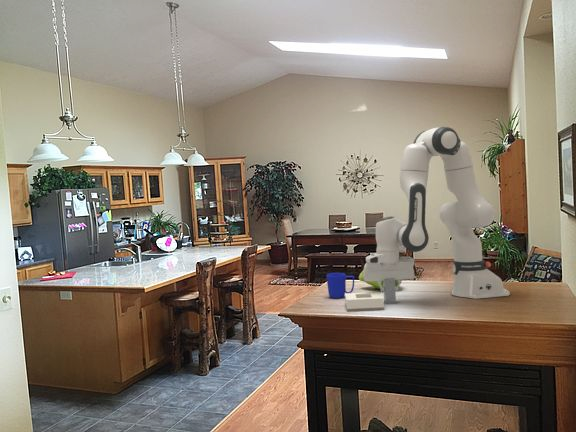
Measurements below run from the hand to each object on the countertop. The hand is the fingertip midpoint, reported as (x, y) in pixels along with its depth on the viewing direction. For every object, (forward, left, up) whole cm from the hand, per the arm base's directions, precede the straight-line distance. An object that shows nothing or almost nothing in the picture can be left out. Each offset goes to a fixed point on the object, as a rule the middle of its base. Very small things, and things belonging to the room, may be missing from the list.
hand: (389, 291), depth 205 cm
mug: (+19, -14, -5) cm, 24 cm away
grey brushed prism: (0, 0, -5) cm, 5 cm away
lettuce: (0, -27, -5) cm, 27 cm away
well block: (+11, +6, -5) cm, 13 cm away
